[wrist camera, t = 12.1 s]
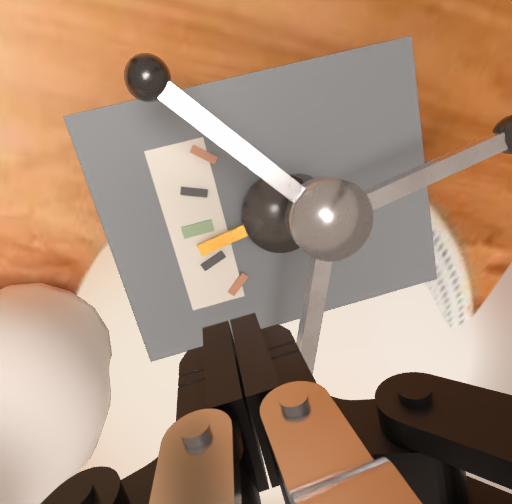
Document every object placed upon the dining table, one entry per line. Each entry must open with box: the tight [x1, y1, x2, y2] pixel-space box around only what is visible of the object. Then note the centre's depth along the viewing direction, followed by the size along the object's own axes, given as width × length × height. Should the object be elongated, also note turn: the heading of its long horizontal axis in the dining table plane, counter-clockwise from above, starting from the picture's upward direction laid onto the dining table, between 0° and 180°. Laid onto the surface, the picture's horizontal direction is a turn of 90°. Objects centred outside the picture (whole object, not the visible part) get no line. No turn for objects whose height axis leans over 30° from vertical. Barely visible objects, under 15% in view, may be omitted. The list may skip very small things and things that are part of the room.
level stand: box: [63, 36, 437, 361], centre depth 33 cm, size 26×20×2 cm
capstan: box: [124, 53, 512, 374], centre depth 28 cm, size 23×25×8 cm
